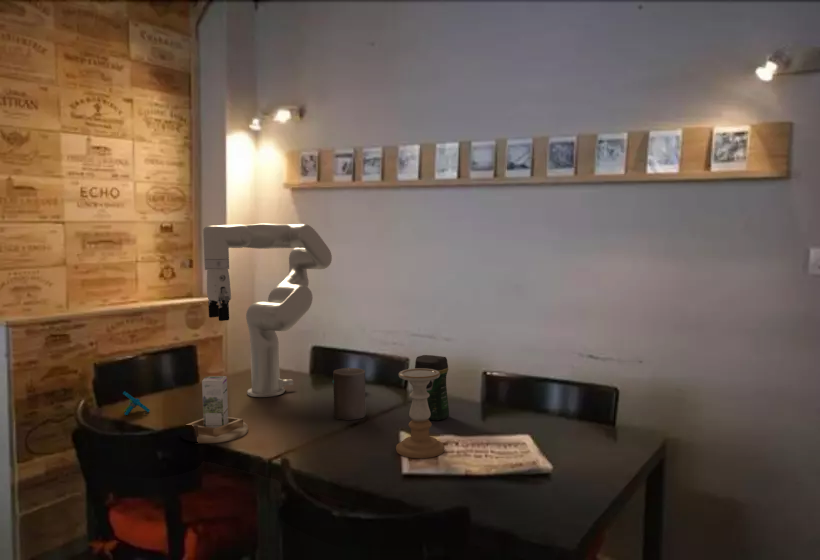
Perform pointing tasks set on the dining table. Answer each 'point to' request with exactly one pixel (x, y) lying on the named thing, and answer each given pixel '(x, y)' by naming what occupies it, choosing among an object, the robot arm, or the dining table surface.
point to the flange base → (220, 431)
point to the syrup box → (215, 401)
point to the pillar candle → (349, 393)
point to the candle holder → (419, 417)
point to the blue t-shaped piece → (133, 404)
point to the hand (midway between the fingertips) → (218, 318)
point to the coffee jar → (436, 385)
